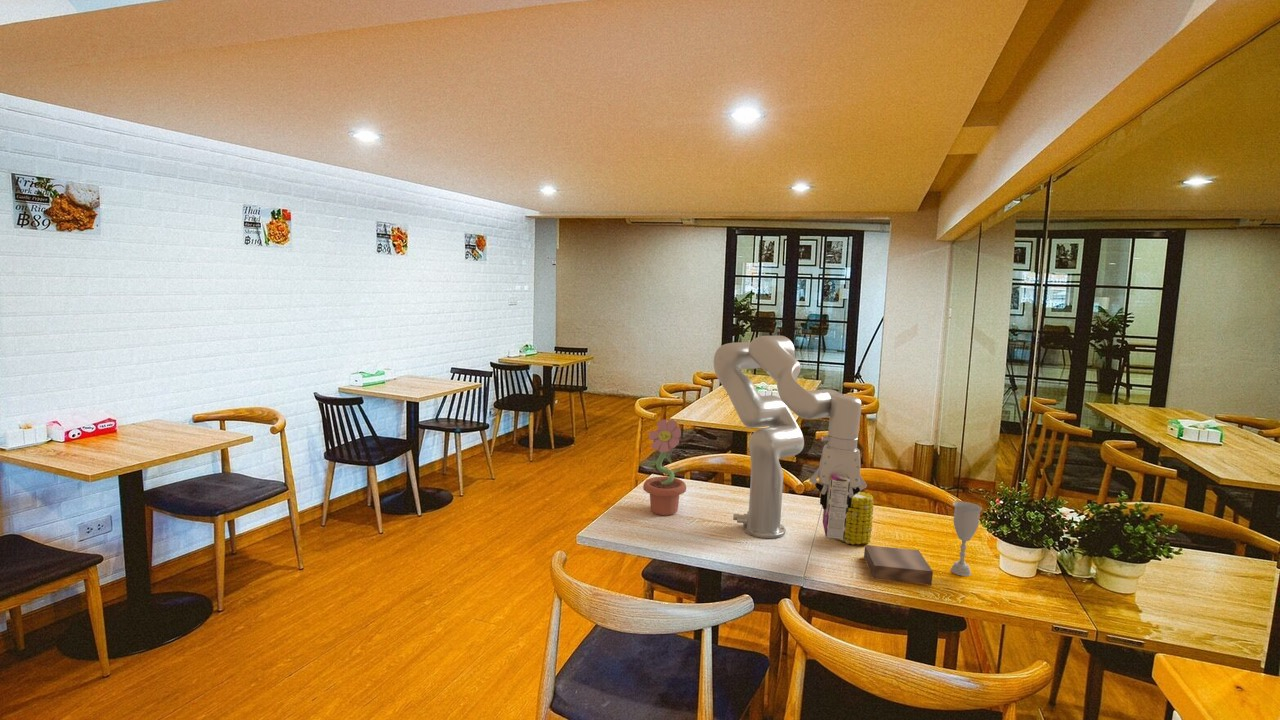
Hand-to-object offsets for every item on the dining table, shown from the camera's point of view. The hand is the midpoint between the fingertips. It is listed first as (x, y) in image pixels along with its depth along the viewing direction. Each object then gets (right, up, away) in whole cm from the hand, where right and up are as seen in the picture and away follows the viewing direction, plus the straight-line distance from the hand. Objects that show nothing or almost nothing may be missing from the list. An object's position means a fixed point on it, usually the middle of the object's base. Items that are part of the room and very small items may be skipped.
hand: (834, 508), depth 166 cm
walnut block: (+16, -17, -1) cm, 23 cm away
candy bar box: (0, -7, +1) cm, 7 cm away
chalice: (+33, -17, -1) cm, 37 cm away
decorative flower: (-45, -10, +35) cm, 58 cm away
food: (+11, -14, +18) cm, 25 cm away
